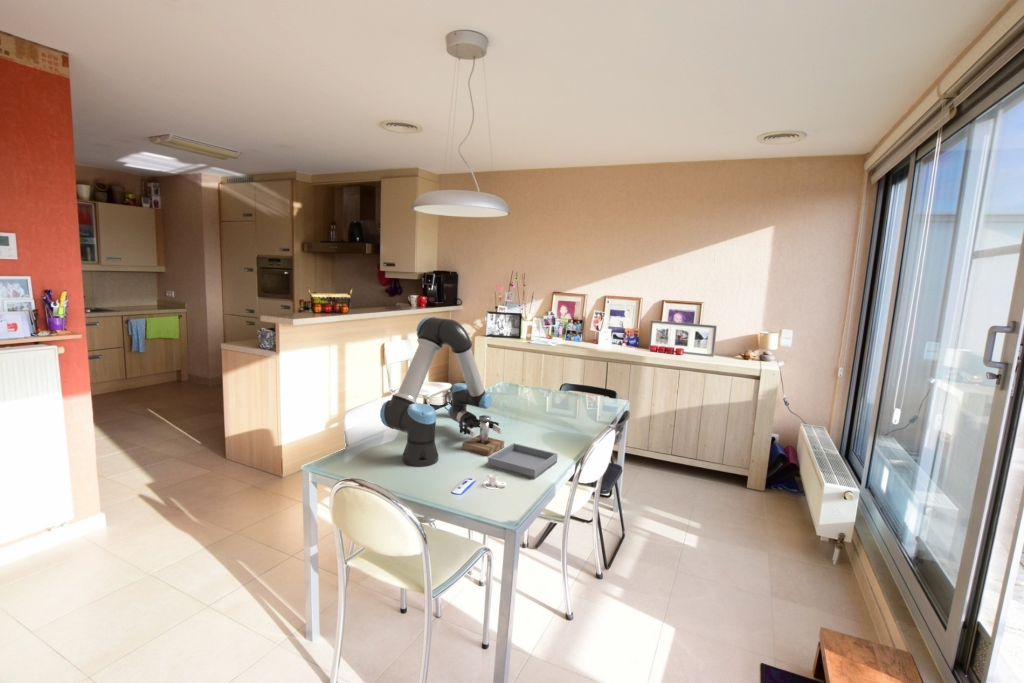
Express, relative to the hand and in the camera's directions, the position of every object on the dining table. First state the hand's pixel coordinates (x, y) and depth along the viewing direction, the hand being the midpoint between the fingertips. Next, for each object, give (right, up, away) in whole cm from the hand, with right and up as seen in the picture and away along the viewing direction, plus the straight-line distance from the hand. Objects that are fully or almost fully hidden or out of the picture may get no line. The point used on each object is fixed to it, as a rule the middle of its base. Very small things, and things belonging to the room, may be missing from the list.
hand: (487, 432), depth 228 cm
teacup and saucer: (+4, -15, -37) cm, 41 cm away
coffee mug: (-20, 0, +50) cm, 54 cm away
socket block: (-2, -8, +4) cm, 9 cm away
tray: (+16, -11, -13) cm, 23 cm away
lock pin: (-2, -8, +4) cm, 9 cm away
